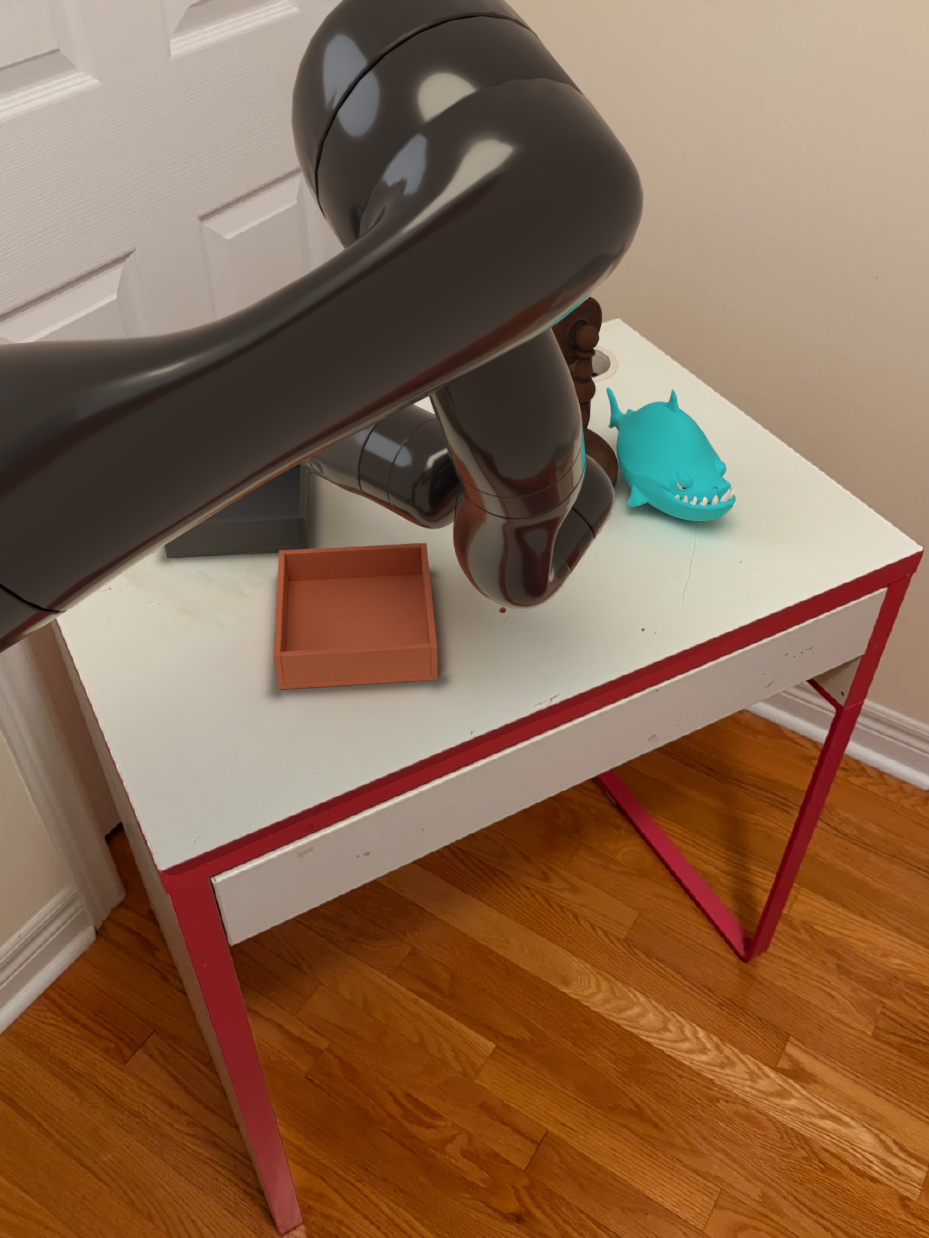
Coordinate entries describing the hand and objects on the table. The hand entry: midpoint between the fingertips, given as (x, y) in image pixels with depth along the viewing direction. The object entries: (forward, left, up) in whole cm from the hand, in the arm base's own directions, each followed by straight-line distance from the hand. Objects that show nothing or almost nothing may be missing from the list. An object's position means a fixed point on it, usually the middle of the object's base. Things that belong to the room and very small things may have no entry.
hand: (188, 348), depth 80 cm
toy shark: (+40, +2, -18) cm, 43 cm away
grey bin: (+2, +2, -18) cm, 18 cm away
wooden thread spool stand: (+29, +4, -18) cm, 34 cm away
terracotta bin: (+12, -14, -18) cm, 25 cm away
